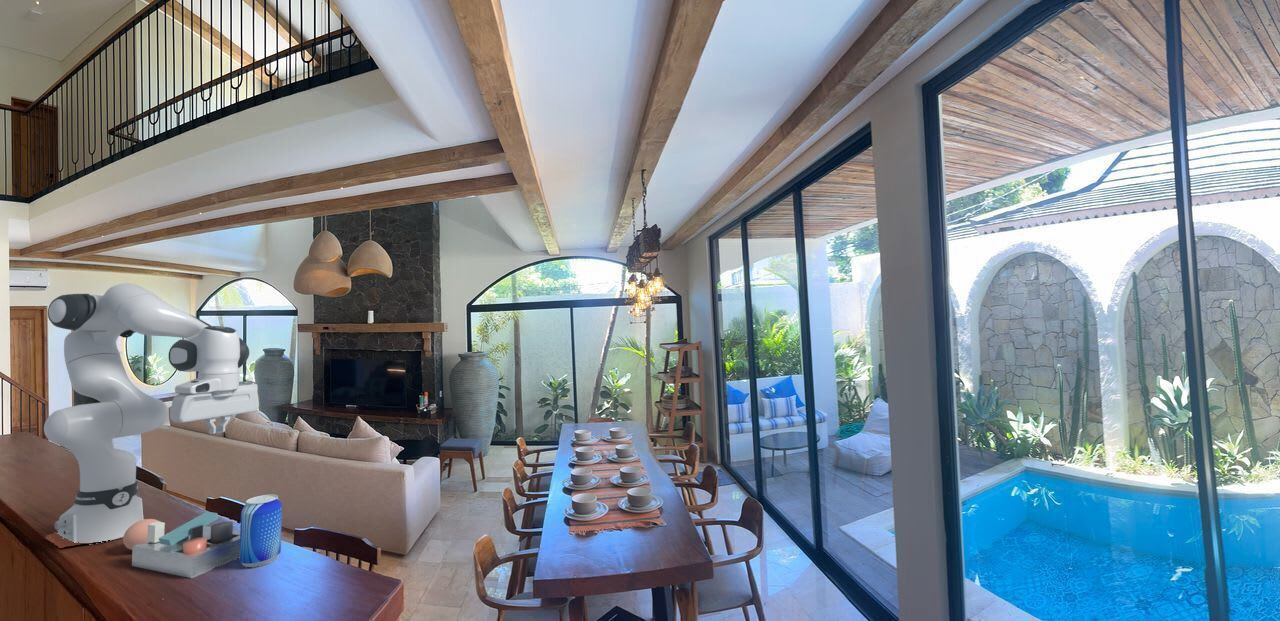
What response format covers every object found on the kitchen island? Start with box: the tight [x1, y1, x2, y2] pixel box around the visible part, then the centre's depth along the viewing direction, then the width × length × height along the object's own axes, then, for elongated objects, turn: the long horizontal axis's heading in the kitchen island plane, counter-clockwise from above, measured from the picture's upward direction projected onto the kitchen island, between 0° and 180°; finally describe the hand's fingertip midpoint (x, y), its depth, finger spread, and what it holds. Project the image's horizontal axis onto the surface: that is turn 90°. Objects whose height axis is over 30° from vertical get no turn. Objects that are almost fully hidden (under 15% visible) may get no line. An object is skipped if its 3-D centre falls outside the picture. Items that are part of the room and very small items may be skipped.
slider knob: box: [147, 521, 166, 543], centre depth 125 cm, size 3×2×4 cm
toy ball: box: [122, 518, 161, 551], centre depth 131 cm, size 8×8×8 cm
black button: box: [210, 521, 234, 544], centre depth 127 cm, size 4×4×6 cm
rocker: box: [159, 511, 220, 546], centre depth 126 cm, size 4×11×2 cm, turn 164°
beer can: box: [238, 494, 283, 568], centre depth 125 cm, size 8×8×16 cm
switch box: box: [131, 523, 240, 579], centre depth 126 cm, size 22×14×8 cm, turn 74°
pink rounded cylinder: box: [183, 537, 207, 555], centre depth 121 cm, size 4×4×6 cm
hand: (217, 433), depth 135 cm, fingers closed
